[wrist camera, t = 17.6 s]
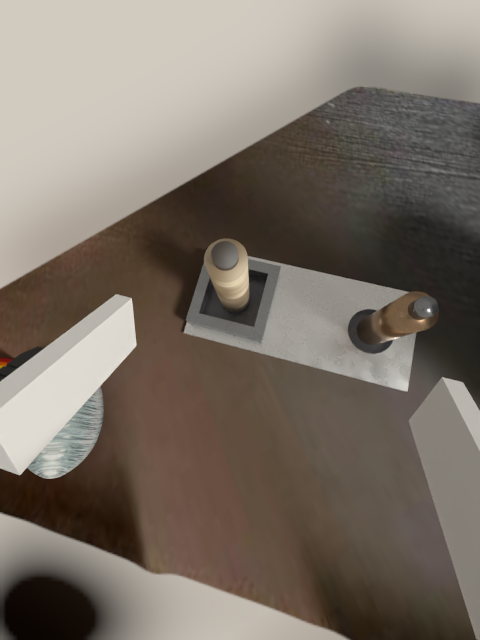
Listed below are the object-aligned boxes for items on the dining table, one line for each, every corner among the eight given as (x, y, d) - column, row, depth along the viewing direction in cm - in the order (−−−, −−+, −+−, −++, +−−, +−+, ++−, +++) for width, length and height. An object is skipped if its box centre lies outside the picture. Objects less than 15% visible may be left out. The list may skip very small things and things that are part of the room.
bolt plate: (419, 296, 41) (501, 252, 27) (405, 391, 38) (488, 397, 25) (210, 249, 45) (189, 190, 31) (184, 333, 42) (148, 310, 28)
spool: (35, 356, 39) (8, 375, 30) (110, 359, 43) (106, 377, 34) (26, 451, 40) (-4, 498, 31) (101, 446, 44) (94, 487, 34)
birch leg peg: (252, 287, 42) (252, 237, 27) (245, 315, 41) (240, 279, 26) (224, 281, 43) (208, 228, 28) (216, 308, 42) (196, 269, 27)
